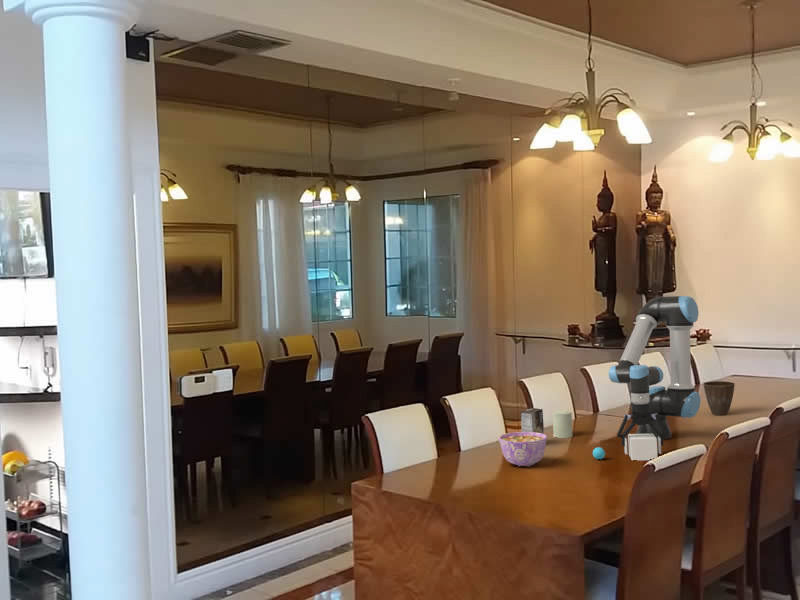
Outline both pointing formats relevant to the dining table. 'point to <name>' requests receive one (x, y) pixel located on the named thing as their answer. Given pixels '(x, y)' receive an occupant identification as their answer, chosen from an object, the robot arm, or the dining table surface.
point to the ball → (598, 453)
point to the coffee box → (532, 420)
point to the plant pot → (719, 396)
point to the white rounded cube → (642, 446)
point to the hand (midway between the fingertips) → (642, 453)
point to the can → (562, 424)
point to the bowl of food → (523, 447)
